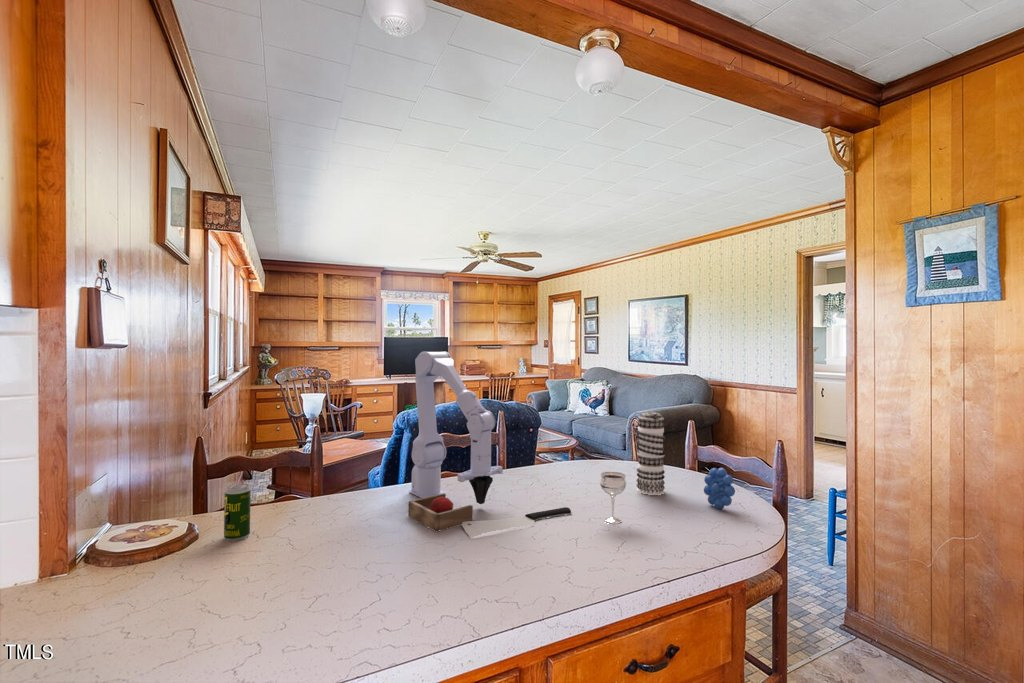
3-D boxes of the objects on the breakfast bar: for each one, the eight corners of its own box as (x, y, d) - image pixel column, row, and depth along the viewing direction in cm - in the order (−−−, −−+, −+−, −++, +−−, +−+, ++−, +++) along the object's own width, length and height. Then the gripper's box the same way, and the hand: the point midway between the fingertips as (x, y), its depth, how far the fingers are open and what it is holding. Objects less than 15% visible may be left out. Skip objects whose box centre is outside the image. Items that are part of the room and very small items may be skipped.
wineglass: (615, 527, 120) (615, 480, 120) (594, 519, 125) (594, 474, 125) (631, 521, 125) (631, 475, 125) (610, 514, 130) (610, 470, 130)
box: (408, 516, 127) (408, 501, 127) (443, 507, 134) (443, 493, 134) (436, 531, 116) (436, 515, 116) (472, 521, 123) (472, 505, 123)
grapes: (746, 514, 131) (746, 470, 131) (726, 516, 129) (726, 472, 129) (717, 501, 142) (717, 460, 142) (698, 502, 140) (698, 462, 140)
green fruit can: (231, 532, 114) (232, 483, 114) (254, 532, 115) (255, 483, 115) (218, 542, 109) (219, 489, 109) (242, 542, 109) (243, 489, 109)
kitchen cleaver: (473, 538, 111) (459, 519, 120) (472, 545, 111) (458, 526, 120) (584, 519, 124) (564, 503, 133) (583, 525, 125) (563, 509, 133)
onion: (445, 490, 129) (420, 500, 124) (457, 495, 125) (432, 505, 119) (447, 511, 129) (422, 521, 124) (459, 517, 125) (434, 528, 120)
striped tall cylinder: (631, 487, 155) (631, 411, 155) (658, 487, 156) (658, 411, 156) (641, 496, 146) (642, 415, 146) (670, 495, 147) (671, 414, 147)
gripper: (468, 461, 126) (467, 512, 126) (509, 453, 136) (509, 501, 135) (453, 456, 132) (452, 505, 131) (494, 449, 141) (493, 495, 141)
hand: (480, 502), depth 134 cm, fingers closed
